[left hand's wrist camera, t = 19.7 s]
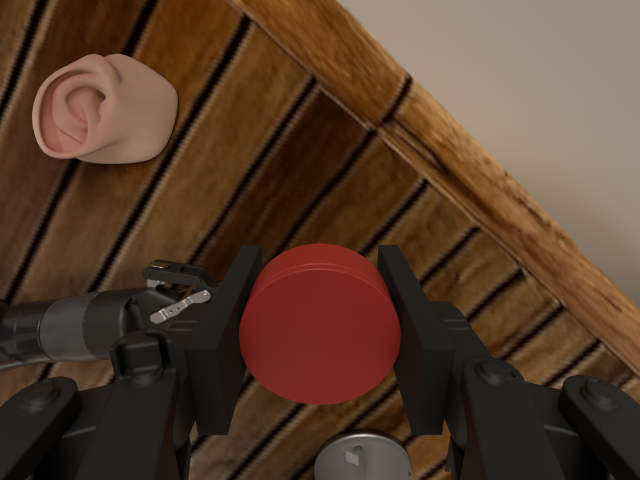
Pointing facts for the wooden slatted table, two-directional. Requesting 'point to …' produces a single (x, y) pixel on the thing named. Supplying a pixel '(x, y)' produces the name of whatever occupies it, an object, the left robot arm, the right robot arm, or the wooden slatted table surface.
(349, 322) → the lid
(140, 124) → the anatomical model
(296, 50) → the wooden slatted table surface
